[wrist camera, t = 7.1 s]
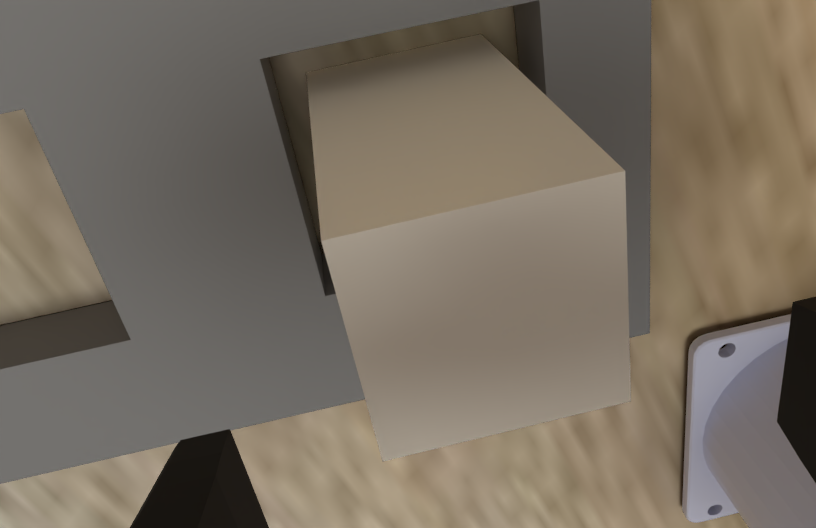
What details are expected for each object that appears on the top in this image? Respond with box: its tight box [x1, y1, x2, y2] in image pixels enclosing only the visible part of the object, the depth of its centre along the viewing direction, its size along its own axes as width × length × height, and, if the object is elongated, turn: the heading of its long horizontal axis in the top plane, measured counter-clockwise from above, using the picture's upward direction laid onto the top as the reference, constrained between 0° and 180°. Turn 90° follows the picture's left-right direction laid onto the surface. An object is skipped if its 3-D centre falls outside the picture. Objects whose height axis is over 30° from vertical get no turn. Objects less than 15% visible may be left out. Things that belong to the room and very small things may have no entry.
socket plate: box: [0, 0, 651, 484], centre depth 15 cm, size 20×14×2 cm
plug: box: [306, 34, 631, 461], centre depth 14 cm, size 4×4×8 cm
